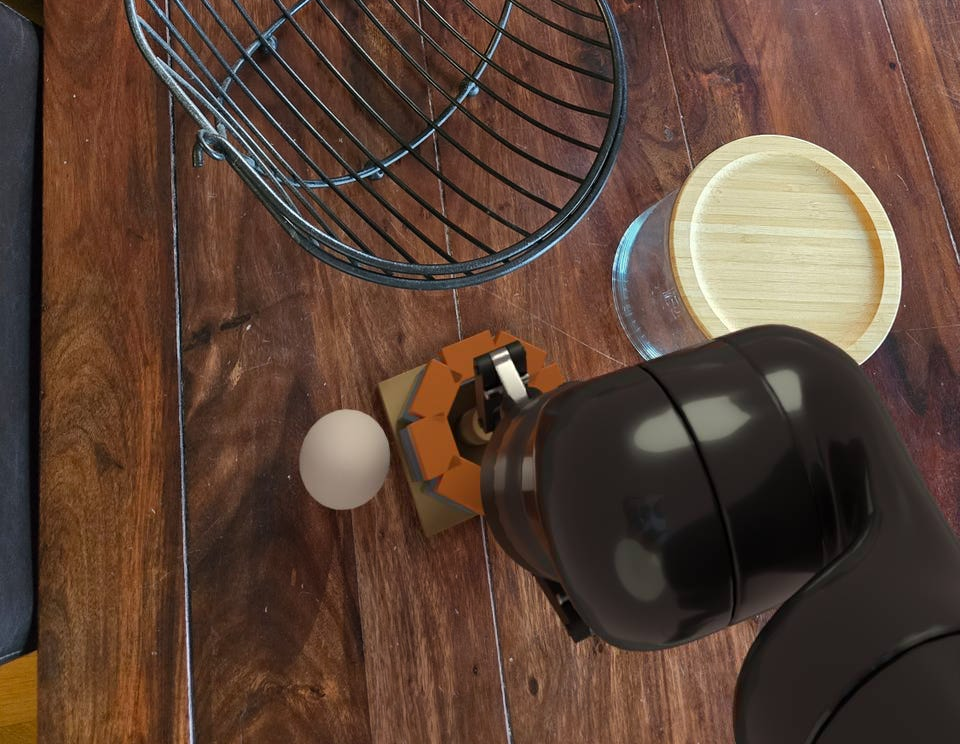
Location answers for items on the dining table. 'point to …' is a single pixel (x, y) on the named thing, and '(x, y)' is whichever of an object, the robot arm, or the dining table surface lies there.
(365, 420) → the egg
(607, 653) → the dining table surface
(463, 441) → the ring stack
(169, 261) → the dining table surface
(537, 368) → the orange ring
